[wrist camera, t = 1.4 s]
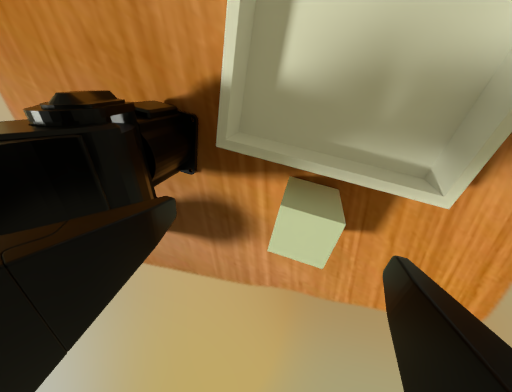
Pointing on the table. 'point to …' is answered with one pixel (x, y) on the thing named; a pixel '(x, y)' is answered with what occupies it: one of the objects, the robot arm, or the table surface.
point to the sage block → (308, 222)
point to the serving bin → (370, 89)
